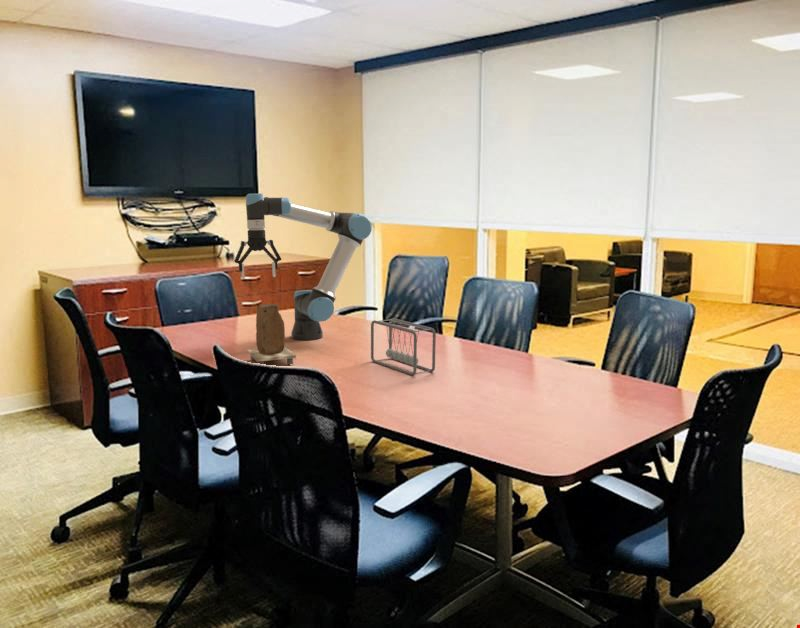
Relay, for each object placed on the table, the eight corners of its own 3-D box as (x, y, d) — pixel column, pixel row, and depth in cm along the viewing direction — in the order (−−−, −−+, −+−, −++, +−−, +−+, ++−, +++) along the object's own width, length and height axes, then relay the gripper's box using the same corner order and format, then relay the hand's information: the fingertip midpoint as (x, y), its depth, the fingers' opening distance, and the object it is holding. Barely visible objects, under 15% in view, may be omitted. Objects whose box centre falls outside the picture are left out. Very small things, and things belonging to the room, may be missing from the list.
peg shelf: (285, 356, 294) (285, 346, 293) (296, 365, 279) (295, 355, 278) (247, 359, 287) (247, 349, 287) (256, 368, 272) (256, 358, 271)
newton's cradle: (370, 361, 286) (370, 319, 283) (390, 358, 292) (390, 317, 289) (414, 377, 263) (415, 331, 260) (435, 373, 269) (436, 328, 266)
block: (261, 355, 276) (260, 306, 273) (255, 351, 283) (254, 304, 279) (286, 352, 282) (285, 304, 278) (280, 349, 288) (279, 302, 285)
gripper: (228, 230, 291) (231, 280, 294) (286, 228, 300) (288, 276, 304) (225, 230, 297) (228, 278, 301) (282, 227, 307) (284, 275, 311)
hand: (258, 277), depth 303 cm, fingers open, 13 cm apart
